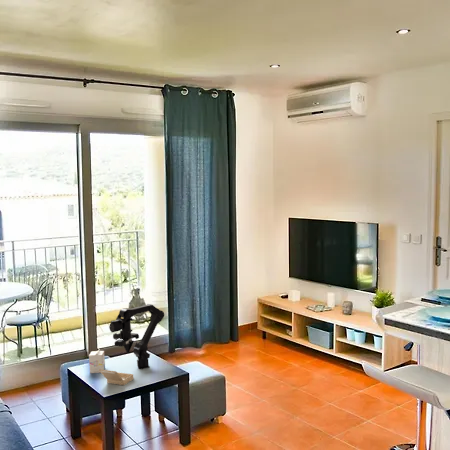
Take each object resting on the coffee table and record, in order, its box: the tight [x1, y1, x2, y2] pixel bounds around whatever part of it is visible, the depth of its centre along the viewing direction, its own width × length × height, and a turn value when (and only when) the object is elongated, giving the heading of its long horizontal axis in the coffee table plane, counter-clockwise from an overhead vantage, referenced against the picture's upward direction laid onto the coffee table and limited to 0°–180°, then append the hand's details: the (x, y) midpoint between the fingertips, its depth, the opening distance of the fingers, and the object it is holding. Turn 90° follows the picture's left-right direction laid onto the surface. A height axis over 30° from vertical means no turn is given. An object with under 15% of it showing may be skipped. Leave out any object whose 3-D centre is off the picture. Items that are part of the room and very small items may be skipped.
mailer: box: [106, 371, 135, 386], centre depth 301 cm, size 10×12×3 cm
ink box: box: [88, 348, 106, 374], centre depth 321 cm, size 9×8×13 cm
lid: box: [99, 369, 123, 381], centre depth 293 cm, size 10×12×1 cm
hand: (127, 353), depth 316 cm, fingers closed
